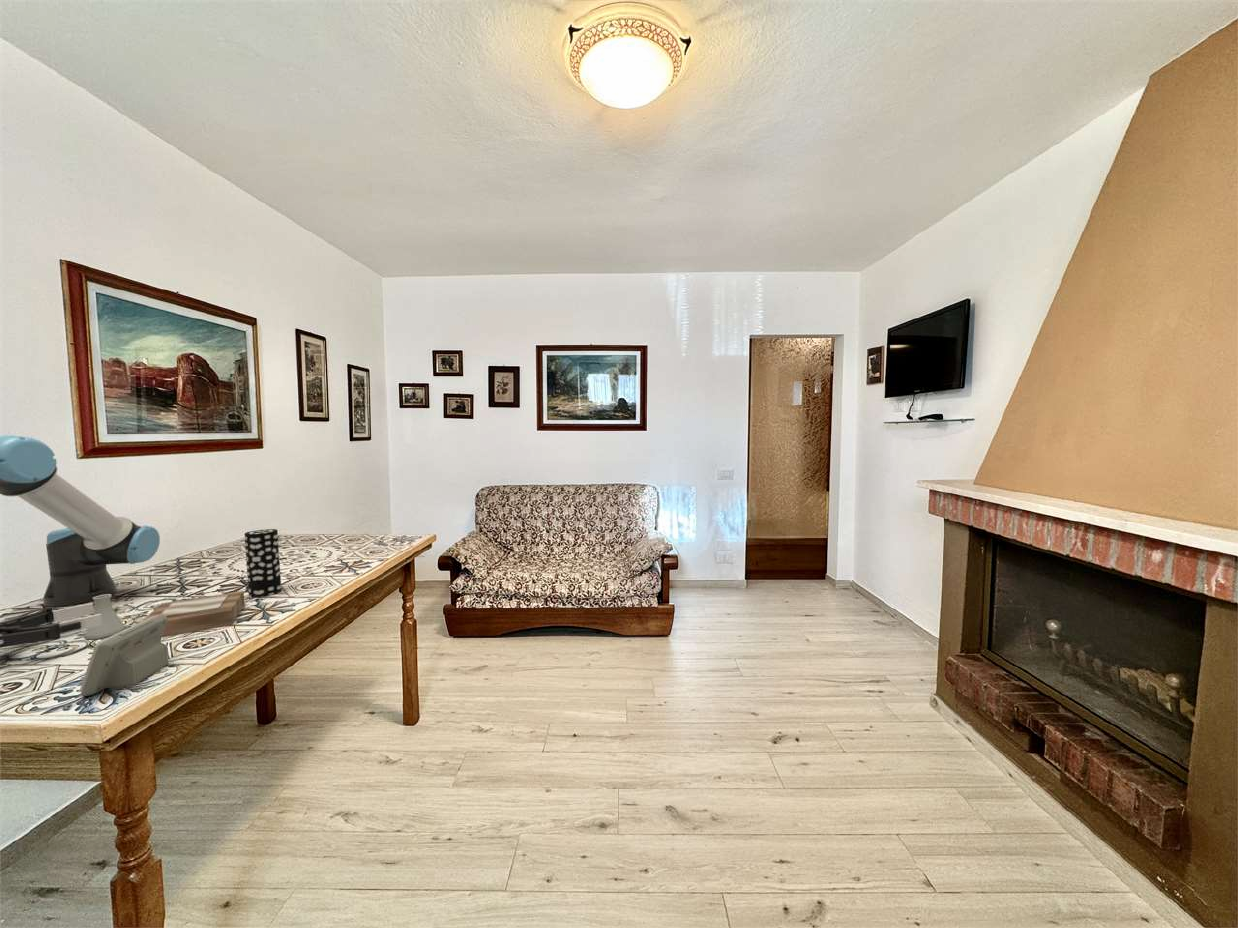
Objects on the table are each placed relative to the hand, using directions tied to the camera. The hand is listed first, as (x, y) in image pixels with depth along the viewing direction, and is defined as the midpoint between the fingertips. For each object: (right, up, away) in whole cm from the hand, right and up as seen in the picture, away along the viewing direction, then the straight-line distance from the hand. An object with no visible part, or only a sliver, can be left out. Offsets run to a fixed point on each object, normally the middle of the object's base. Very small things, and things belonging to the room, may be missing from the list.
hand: (97, 613), depth 117 cm
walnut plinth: (+17, -5, +9) cm, 20 cm away
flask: (0, -6, +2) cm, 6 cm away
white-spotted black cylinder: (+19, -4, +31) cm, 37 cm away
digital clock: (+30, -7, -20) cm, 37 cm away
